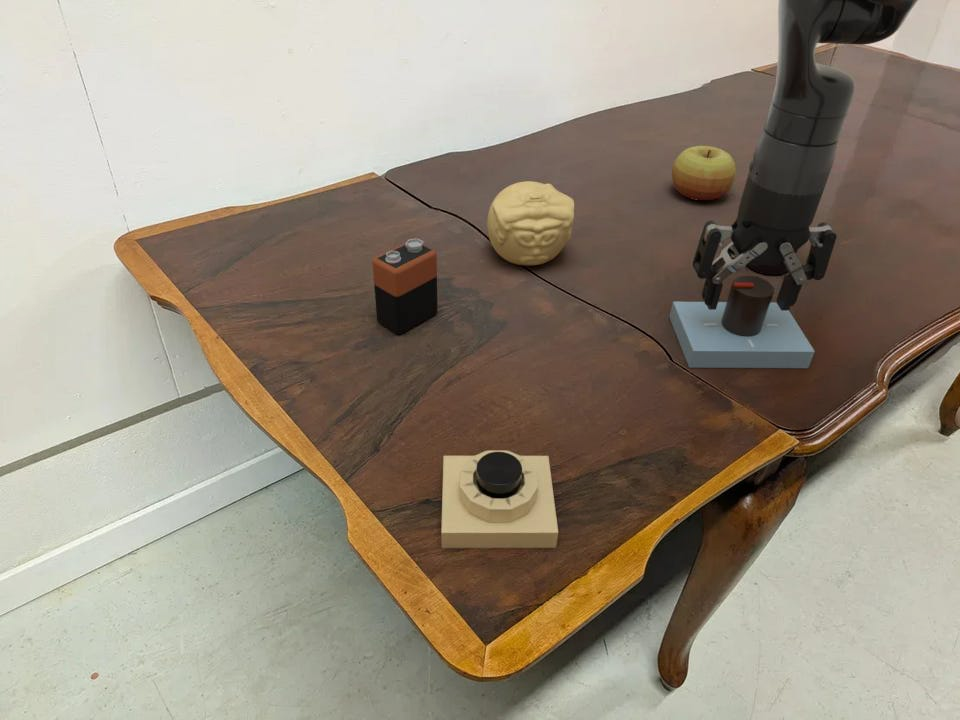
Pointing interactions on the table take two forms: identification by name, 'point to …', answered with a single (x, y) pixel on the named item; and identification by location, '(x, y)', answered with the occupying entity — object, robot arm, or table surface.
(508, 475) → the button
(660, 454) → the table surface
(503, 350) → the table surface
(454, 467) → the button box
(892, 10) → the robot arm
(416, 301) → the battery
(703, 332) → the panel
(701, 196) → the apple
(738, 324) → the knob
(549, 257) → the sculpture
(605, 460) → the table surface
